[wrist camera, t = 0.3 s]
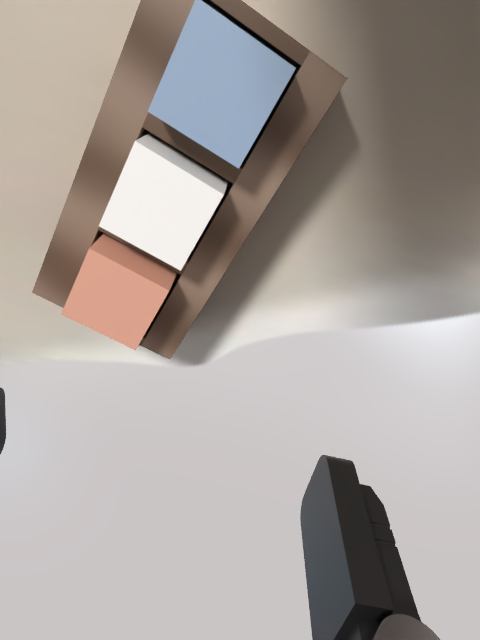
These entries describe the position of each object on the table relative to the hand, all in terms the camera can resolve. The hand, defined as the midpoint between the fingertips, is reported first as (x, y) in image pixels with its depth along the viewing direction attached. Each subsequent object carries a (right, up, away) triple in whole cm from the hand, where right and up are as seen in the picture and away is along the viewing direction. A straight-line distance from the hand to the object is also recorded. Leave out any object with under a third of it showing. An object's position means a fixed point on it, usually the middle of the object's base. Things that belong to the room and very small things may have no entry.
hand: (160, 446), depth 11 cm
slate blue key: (+1, +15, +11) cm, 19 cm away
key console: (-2, +12, +17) cm, 21 cm away
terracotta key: (-5, +6, +17) cm, 19 cm away
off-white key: (-2, +11, +14) cm, 18 cm away
